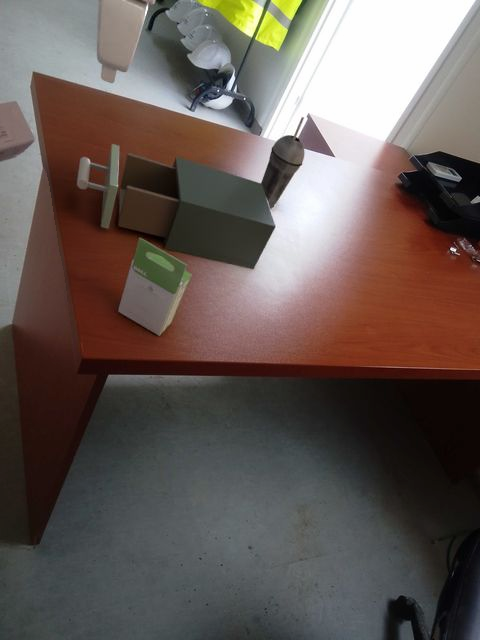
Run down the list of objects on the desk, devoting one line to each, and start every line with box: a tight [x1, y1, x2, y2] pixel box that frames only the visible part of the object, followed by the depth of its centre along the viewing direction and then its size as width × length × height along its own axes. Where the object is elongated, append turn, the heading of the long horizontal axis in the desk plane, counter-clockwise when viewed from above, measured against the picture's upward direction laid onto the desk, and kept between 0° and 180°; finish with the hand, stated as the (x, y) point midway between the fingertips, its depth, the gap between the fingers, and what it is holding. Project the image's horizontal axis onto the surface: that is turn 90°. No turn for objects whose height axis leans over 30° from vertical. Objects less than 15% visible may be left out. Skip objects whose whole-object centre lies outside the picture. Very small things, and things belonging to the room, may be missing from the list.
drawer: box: [76, 143, 179, 238], centre depth 77 cm, size 20×13×8 cm, turn 103°
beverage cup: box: [260, 116, 306, 209], centre depth 97 cm, size 7×7×20 cm
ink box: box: [117, 237, 192, 337], centre depth 61 cm, size 7×4×13 cm, turn 71°
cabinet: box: [163, 156, 276, 270], centre depth 82 cm, size 17×14×10 cm
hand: (107, 77), depth 63 cm, fingers closed
